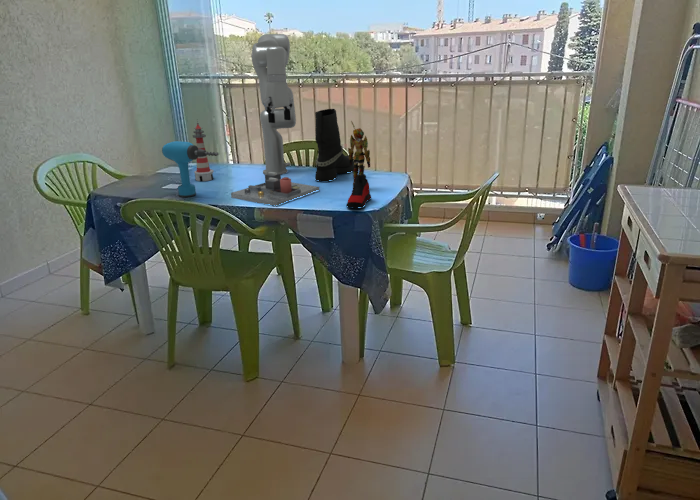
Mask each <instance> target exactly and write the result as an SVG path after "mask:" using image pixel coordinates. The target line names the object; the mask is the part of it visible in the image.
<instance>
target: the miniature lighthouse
mask: <svg viewBox="0 0 700 500" xmlns="http://www.w3.org/2000/svg"><path fill="white" fill-rule="evenodd" d="M202 129H203V127H202V126H200V125H199V121H198V120H196V126H195V127H193V134H192V138H193V139H196V140H195V141H196V143H195V144H196V145H195V146H197V147H198V149H202V150H206V147H205V142H204V138H206V135H207V134H205V131H204V130H202ZM203 133H204V134H203ZM214 171H215V170H214V169H211V167H210V163H209V159H208V155H206V156H204V157H198V158H197V159H196V170H194V178H195V181H197V182H208V181H213V180H214V175H213V174H214Z"/></svg>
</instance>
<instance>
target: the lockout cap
mask: <svg viewBox="0 0 700 500" xmlns="http://www.w3.org/2000/svg"><path fill="white" fill-rule="evenodd" d="M291 182H292V178H291V177H290V178H289V177H286V176H285V177H281V179H280V187H281V192H283V193H289V192H292V187H291Z"/></svg>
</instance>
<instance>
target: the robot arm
mask: <svg viewBox="0 0 700 500" xmlns="http://www.w3.org/2000/svg"><path fill="white" fill-rule="evenodd" d="M290 51H291V43H290V39H289V37H288V36H287V35H286V34H284V33H266V34H265V33H264V34H262V35H260V36H259V38H258V40H257V42H256V43H255V42H254V44H253V45H252V48H251V62H252V66H253V69H254V71H255V72H254V73H256V75H257V79H258V84H259V85H258V86H259V92H260V100H261V104H262V106H263V107H264V109H263V110H262V111H261V112H260V115H259V119H260V125H261V130H262V139H263V149H264V162H265V163H264V164H265V169H263V171H262V174H263V175H266V174H269V173H268V172H274V173H278V174H281V175H285V174H287V173H289V169H287V167H290V166H291V162H285V156H284V155H285V153H284V139H283V136H282V134H281V133H280V132H279V131H278V130H279V129H280V130H281V129H292V128H295V126H296V124H297V123H296V122H297V118H296V108H295V101H294V100H295V99H294V93H293V91H292V88H290V87H289V85H288V82H287V69H286V66H287V65H288V64H289V57H290Z"/></svg>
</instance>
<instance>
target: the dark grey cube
mask: <svg viewBox="0 0 700 500" xmlns="http://www.w3.org/2000/svg"><path fill="white" fill-rule="evenodd" d="M268 173H269V174H264V182H265V181H266V180H269V178H277V179H282V176H281V175H282V174H278V173H274V172H268Z"/></svg>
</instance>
